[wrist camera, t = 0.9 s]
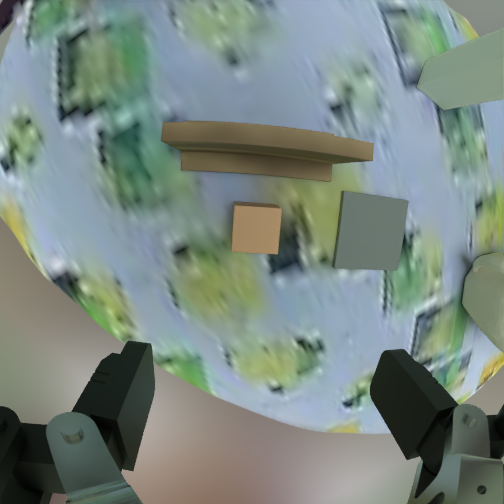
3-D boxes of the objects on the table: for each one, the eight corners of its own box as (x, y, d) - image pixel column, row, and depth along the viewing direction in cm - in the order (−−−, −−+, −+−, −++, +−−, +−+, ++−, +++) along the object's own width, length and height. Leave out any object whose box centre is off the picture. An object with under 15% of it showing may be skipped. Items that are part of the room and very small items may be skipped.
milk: (451, 84, 33) (555, 59, 12) (443, 111, 34) (556, 94, 13) (424, 60, 32) (527, 19, 10) (415, 87, 33) (528, 51, 12)
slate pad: (341, 190, 36) (344, 191, 35) (405, 200, 37) (408, 200, 36) (332, 266, 39) (334, 268, 38) (394, 268, 39) (397, 270, 39)
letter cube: (234, 201, 36) (234, 205, 31) (274, 204, 36) (282, 208, 31) (231, 243, 37) (231, 253, 32) (271, 245, 37) (277, 256, 33)
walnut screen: (186, 122, 33) (165, 97, 21) (331, 135, 34) (374, 120, 23) (182, 170, 34) (159, 167, 23) (328, 181, 36) (370, 185, 24)
